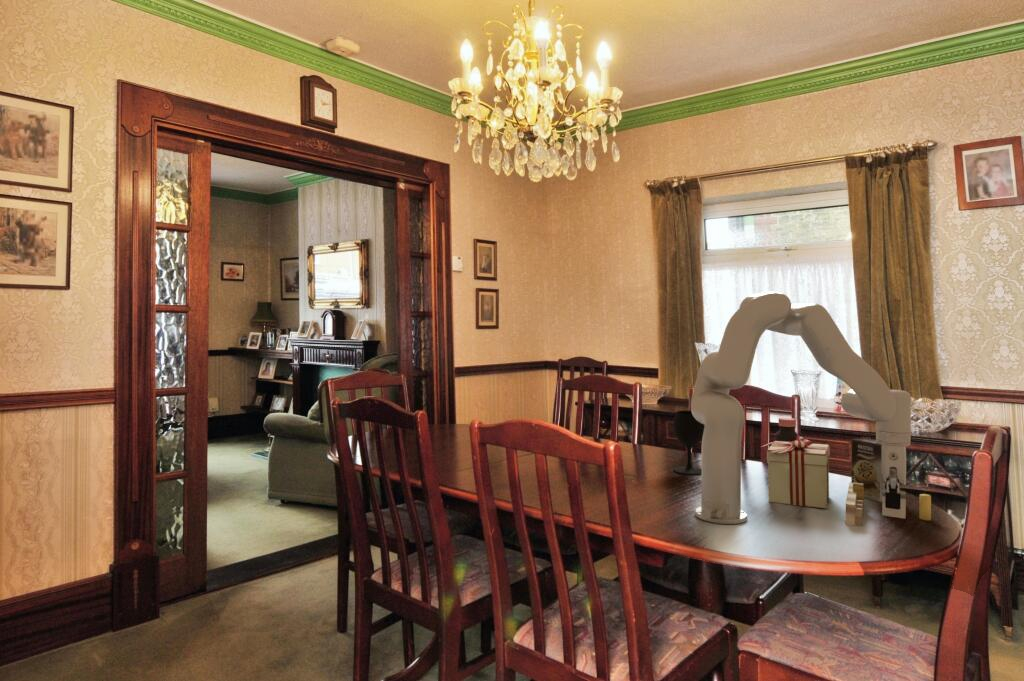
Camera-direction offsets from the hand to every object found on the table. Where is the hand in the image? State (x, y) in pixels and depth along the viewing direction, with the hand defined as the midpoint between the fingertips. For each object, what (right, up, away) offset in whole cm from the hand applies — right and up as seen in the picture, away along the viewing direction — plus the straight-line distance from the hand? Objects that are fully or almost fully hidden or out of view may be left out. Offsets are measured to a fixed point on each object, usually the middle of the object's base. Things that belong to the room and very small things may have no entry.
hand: (892, 503), depth 155 cm
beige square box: (0, -3, 0) cm, 3 cm away
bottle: (-13, -2, +32) cm, 35 cm away
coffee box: (+4, -3, +16) cm, 17 cm away
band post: (+6, -3, -4) cm, 8 cm away
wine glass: (-39, -2, +47) cm, 61 cm away
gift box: (-19, -3, +14) cm, 24 cm away
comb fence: (-9, -3, +2) cm, 10 cm away
